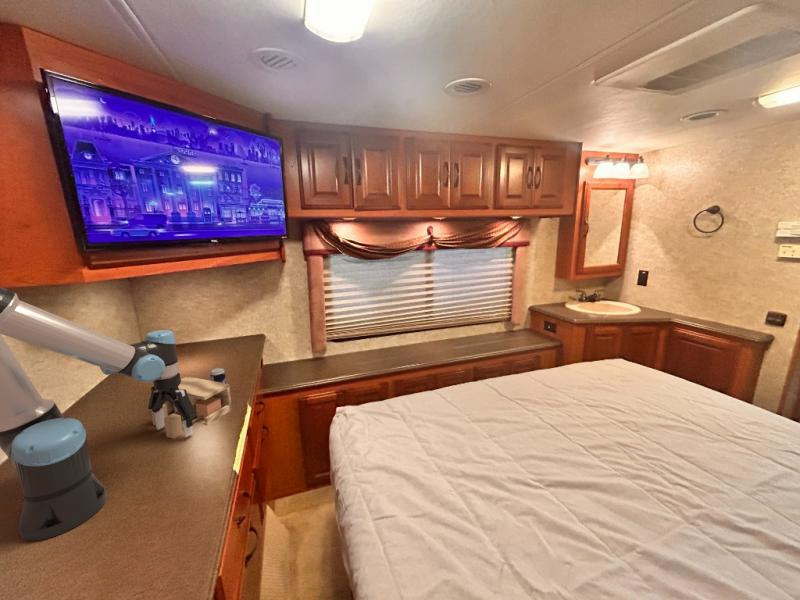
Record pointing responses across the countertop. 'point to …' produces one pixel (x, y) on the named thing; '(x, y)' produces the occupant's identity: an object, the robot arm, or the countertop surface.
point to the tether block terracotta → (202, 411)
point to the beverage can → (218, 375)
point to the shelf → (205, 395)
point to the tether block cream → (164, 413)
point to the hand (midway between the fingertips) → (175, 431)
